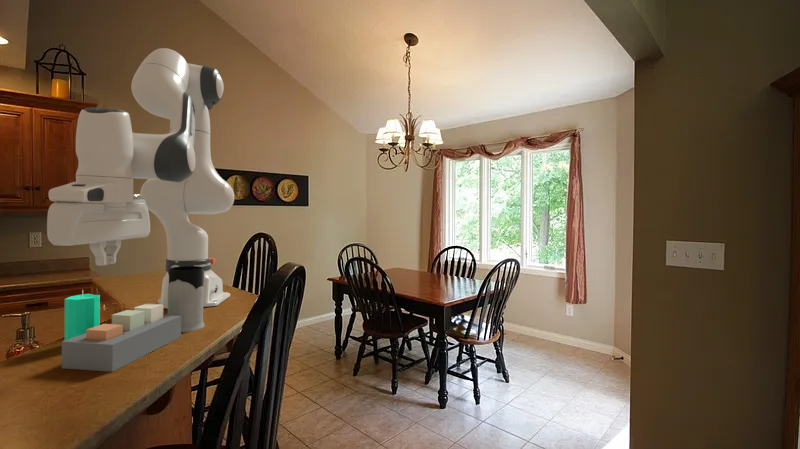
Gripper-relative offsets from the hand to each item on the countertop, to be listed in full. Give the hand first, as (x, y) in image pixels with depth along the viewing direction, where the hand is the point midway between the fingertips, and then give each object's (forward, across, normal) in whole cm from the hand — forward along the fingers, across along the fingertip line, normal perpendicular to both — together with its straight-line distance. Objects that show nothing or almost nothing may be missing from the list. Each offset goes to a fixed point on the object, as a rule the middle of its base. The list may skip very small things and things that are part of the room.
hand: (105, 264), depth 77 cm
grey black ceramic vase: (+20, -26, +1) cm, 32 cm away
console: (+19, -6, 0) cm, 20 cm away
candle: (+19, -7, -12) cm, 24 cm away
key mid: (+17, -6, 0) cm, 18 cm away
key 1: (+18, +1, 0) cm, 18 cm away
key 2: (+17, -12, 0) cm, 21 cm away
